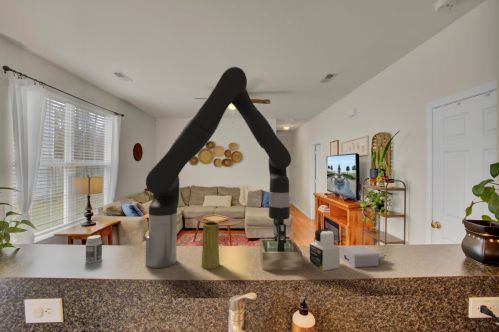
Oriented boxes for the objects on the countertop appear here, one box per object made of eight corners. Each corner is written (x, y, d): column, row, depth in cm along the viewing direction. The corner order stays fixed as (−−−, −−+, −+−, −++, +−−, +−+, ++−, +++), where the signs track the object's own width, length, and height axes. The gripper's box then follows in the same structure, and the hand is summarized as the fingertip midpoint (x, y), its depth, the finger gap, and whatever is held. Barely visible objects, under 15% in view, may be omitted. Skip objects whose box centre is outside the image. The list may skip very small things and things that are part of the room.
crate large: (262, 269, 73) (262, 252, 73) (259, 252, 88) (259, 238, 88) (302, 269, 73) (302, 252, 73) (292, 253, 88) (292, 239, 88)
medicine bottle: (309, 262, 79) (309, 228, 79) (325, 260, 81) (325, 227, 82) (322, 271, 72) (322, 234, 72) (340, 268, 75) (340, 232, 75)
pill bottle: (99, 256, 83) (99, 234, 83) (103, 260, 80) (104, 236, 80) (83, 260, 79) (84, 236, 79) (87, 264, 76) (88, 239, 76)
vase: (215, 270, 72) (216, 226, 73) (198, 268, 74) (198, 224, 74) (221, 262, 78) (222, 221, 79) (205, 261, 80) (206, 220, 80)
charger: (394, 266, 77) (354, 269, 75) (375, 256, 86) (339, 258, 84) (394, 252, 77) (354, 254, 75) (375, 243, 86) (339, 245, 84)
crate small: (268, 261, 77) (268, 247, 77) (266, 255, 84) (267, 241, 84) (291, 261, 77) (291, 247, 78) (288, 255, 84) (288, 241, 84)
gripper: (267, 201, 88) (266, 243, 88) (271, 207, 74) (270, 257, 73) (286, 201, 88) (285, 243, 88) (293, 208, 74) (293, 257, 74)
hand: (279, 249), depth 81 cm, fingers open, 8 cm apart
